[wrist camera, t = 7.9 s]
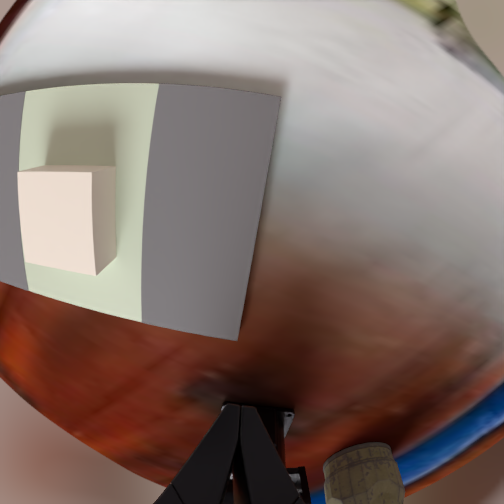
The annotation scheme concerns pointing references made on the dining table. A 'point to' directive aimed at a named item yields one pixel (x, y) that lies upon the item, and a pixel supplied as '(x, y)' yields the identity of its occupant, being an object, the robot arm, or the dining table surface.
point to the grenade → (363, 476)
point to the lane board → (99, 154)
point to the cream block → (68, 216)
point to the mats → (179, 203)
